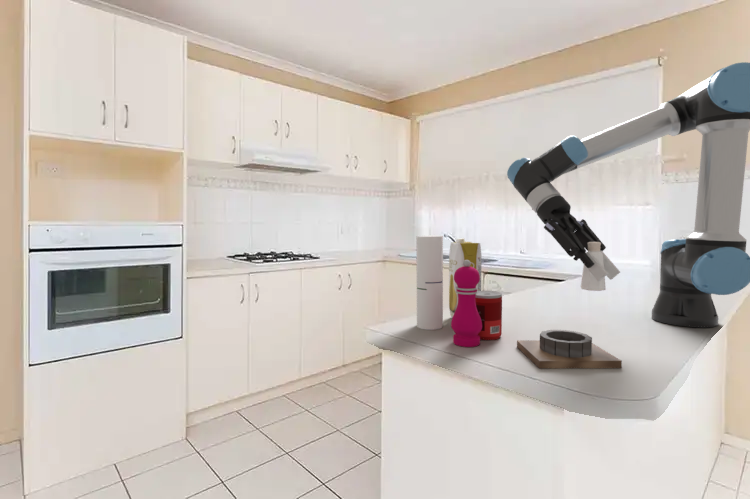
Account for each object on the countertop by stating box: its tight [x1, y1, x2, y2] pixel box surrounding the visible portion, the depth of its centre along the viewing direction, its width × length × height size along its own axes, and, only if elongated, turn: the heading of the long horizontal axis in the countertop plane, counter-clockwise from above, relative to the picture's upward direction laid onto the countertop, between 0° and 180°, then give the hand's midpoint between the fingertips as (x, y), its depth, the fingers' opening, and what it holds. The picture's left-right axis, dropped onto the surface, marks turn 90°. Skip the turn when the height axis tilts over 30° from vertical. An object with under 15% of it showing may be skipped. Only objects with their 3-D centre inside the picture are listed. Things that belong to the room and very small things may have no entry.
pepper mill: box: [450, 260, 482, 348], centre depth 99 cm, size 7×7×20 cm
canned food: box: [475, 290, 503, 341], centre depth 105 cm, size 8×8×11 cm
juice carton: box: [448, 237, 482, 318], centre depth 122 cm, size 9×8×24 cm
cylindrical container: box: [416, 234, 444, 331], centre depth 115 cm, size 7×7×25 cm
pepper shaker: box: [580, 242, 607, 292], centre depth 97 cm, size 5×5×11 cm
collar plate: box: [516, 329, 623, 369], centre depth 89 cm, size 16×14×4 cm
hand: (609, 276), depth 94 cm, fingers closed on pepper shaker, 4 cm apart
